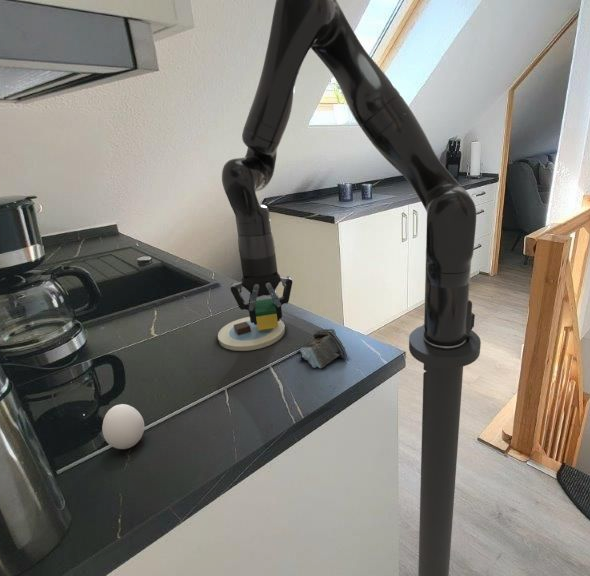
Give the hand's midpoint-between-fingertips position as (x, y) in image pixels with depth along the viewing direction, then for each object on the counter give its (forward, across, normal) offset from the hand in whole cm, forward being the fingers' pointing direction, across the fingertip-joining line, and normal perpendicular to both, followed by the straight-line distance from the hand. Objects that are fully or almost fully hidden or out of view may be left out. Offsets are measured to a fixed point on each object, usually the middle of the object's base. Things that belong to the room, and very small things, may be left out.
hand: (266, 321), depth 95 cm
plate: (+3, -4, 0) cm, 5 cm away
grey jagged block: (+3, +9, -15) cm, 18 cm away
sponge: (0, 0, 0) cm, 0 cm away
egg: (+3, -24, -30) cm, 38 cm away
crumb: (+1, -6, 0) cm, 6 cm away
